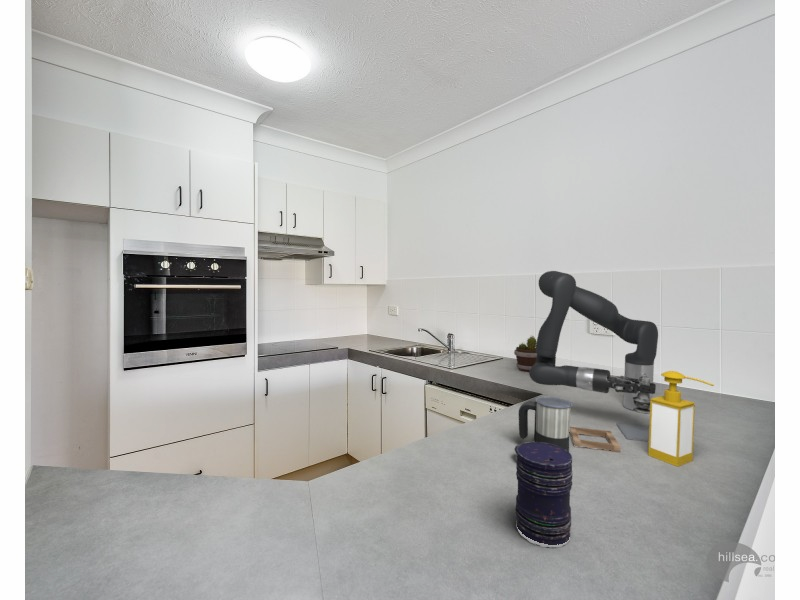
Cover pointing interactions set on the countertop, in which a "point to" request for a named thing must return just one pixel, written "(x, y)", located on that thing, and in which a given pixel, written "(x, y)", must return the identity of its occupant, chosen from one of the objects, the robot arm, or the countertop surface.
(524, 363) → the flowerpot
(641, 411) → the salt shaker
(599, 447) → the holder frame
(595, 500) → the countertop surface
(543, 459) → the navy blue cylinder
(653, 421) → the soap bottle
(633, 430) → the slate mat
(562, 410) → the milk frother
